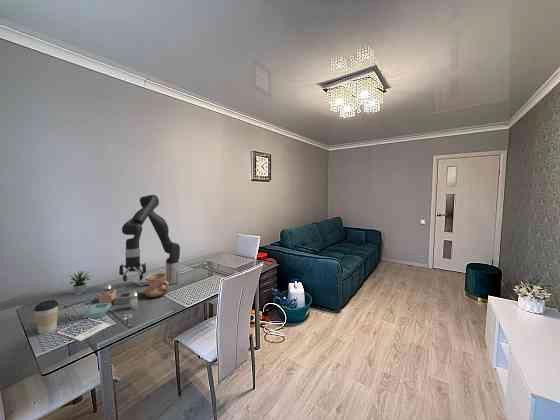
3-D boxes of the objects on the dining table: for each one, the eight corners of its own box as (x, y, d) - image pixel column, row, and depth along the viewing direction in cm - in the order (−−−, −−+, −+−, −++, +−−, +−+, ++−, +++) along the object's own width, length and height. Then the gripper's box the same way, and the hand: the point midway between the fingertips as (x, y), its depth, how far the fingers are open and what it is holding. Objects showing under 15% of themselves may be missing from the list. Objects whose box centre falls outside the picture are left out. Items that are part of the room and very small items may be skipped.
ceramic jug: (138, 297, 159) (138, 278, 158) (153, 289, 173) (153, 271, 172) (160, 301, 155) (160, 281, 154) (174, 292, 169) (174, 273, 168)
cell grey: (113, 298, 155) (112, 283, 154) (110, 301, 151) (109, 285, 150) (105, 299, 154) (105, 283, 153) (102, 302, 150) (102, 286, 149)
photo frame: (80, 339, 112) (56, 331, 117) (80, 341, 112) (57, 333, 117) (110, 324, 125) (88, 317, 131) (110, 326, 126) (88, 319, 131)
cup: (116, 298, 157) (116, 290, 156) (111, 303, 150) (111, 294, 150) (104, 299, 155) (104, 290, 155) (99, 304, 148) (98, 295, 148)
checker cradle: (136, 295, 162) (136, 289, 161) (129, 304, 149) (129, 297, 149) (122, 296, 160) (122, 290, 159) (114, 305, 147) (113, 298, 147)
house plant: (75, 299, 154) (74, 275, 153) (59, 296, 157) (58, 273, 156) (96, 290, 168) (95, 269, 167) (81, 288, 171) (80, 267, 170)
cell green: (138, 306, 147) (138, 290, 146) (136, 309, 143) (136, 293, 142) (131, 307, 146) (131, 290, 145) (128, 310, 141) (128, 293, 141)
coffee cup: (37, 337, 114) (36, 308, 113) (32, 331, 118) (31, 303, 117) (62, 328, 121) (61, 301, 120) (56, 323, 126) (55, 297, 125)
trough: (111, 306, 146) (111, 302, 146) (101, 317, 133) (101, 312, 133) (95, 307, 143) (94, 303, 143) (82, 318, 131) (82, 314, 131)
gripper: (147, 253, 147) (147, 277, 148) (122, 254, 144) (122, 279, 145) (143, 256, 140) (143, 282, 141) (117, 257, 136) (117, 283, 137)
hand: (133, 280), depth 143 cm, fingers open, 8 cm apart
